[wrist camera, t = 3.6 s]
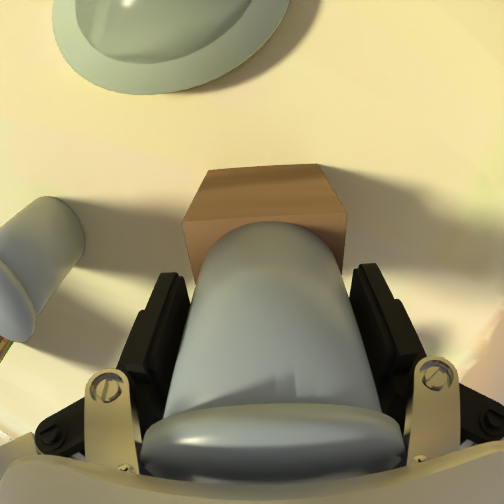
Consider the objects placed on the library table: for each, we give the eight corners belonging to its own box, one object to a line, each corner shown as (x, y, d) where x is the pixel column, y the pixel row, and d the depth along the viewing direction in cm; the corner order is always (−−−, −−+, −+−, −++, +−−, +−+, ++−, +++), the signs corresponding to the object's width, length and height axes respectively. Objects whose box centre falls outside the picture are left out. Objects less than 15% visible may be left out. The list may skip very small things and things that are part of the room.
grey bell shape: (180, 215, 10) (90, 418, 4) (355, 212, 10) (455, 409, 4) (203, 336, 13) (176, 497, 7) (335, 334, 13) (364, 494, 7)
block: (208, 169, 15) (182, 221, 10) (316, 163, 15) (346, 212, 10) (221, 260, 18) (208, 335, 13) (315, 255, 18) (334, 329, 13)
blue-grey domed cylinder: (14, 198, 16) (-56, 256, 10) (73, 185, 15) (-4, 250, 9) (40, 269, 19) (-11, 336, 13) (99, 267, 19) (49, 348, 12)
